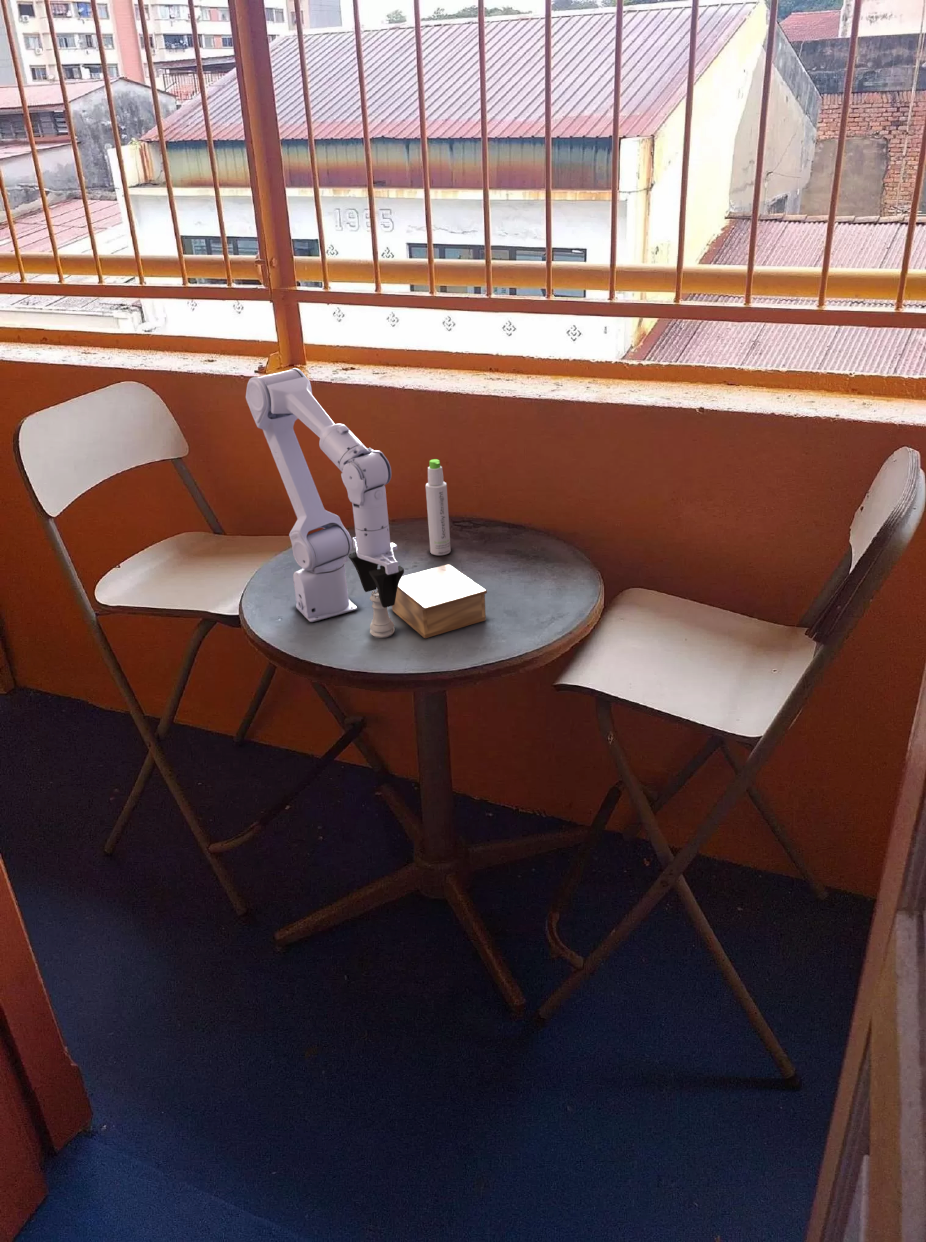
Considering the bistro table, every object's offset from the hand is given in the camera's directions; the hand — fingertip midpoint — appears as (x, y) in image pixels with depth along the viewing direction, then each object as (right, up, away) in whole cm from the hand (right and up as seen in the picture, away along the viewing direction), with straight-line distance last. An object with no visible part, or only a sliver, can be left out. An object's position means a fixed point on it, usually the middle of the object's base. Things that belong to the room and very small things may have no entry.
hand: (379, 597), depth 161 cm
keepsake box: (+10, -3, +8) cm, 13 cm away
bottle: (+10, +11, +35) cm, 38 cm away
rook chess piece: (0, -6, +3) cm, 7 cm away
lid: (+10, +2, +5) cm, 12 cm away
